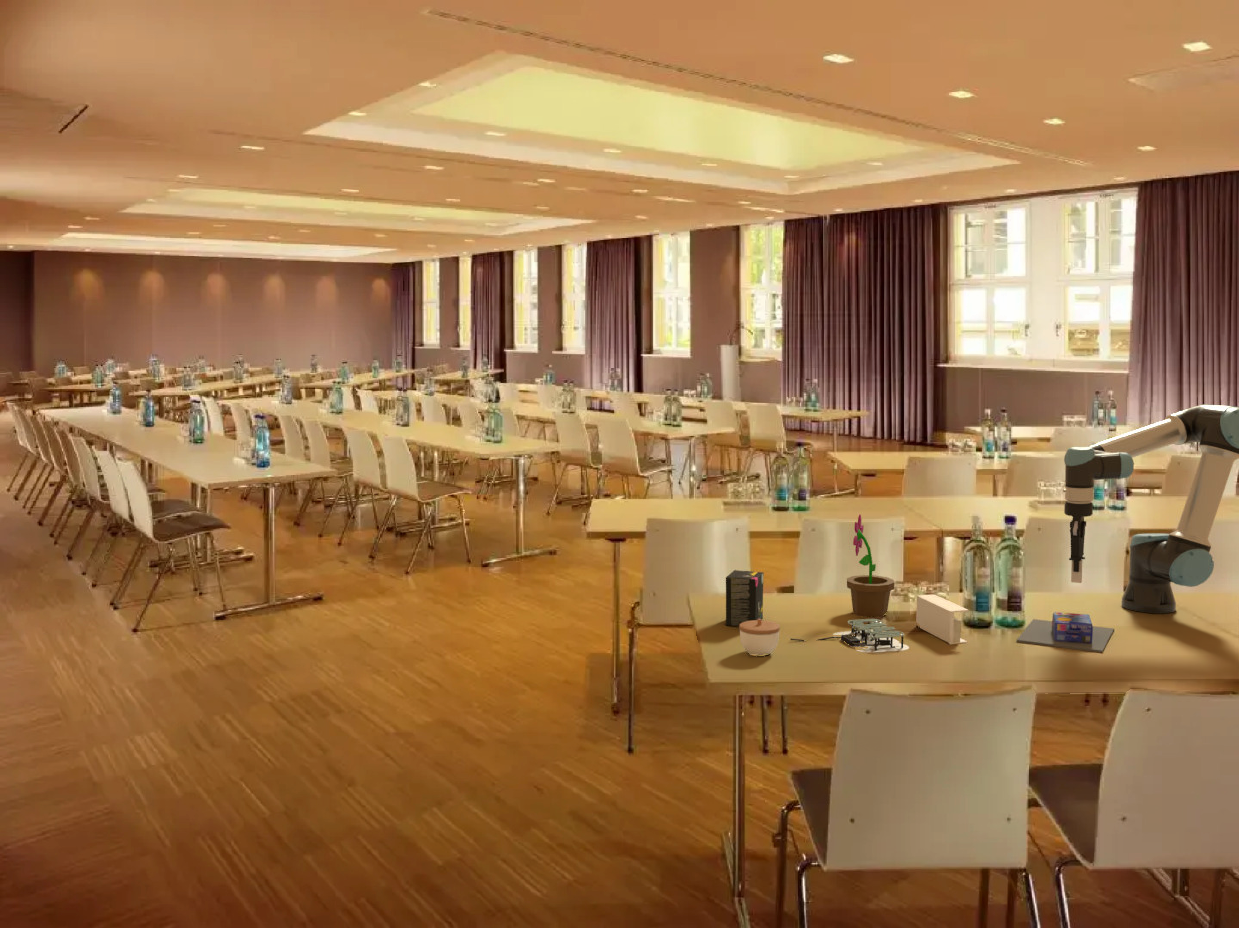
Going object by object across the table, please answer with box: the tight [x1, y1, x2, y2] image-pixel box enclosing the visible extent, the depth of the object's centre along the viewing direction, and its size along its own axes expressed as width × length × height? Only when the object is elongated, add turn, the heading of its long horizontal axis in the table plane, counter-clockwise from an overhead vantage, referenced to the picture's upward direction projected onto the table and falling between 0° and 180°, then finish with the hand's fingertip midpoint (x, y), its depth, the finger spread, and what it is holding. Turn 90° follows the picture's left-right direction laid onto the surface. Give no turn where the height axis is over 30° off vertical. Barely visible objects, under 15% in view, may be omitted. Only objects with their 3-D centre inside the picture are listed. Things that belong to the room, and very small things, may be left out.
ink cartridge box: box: [1051, 611, 1094, 643], centre depth 317 cm, size 10×6×14 cm
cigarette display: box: [915, 593, 969, 645], centre depth 324 cm, size 20×6×9 cm, turn 14°
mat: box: [1016, 618, 1115, 654], centre depth 321 cm, size 25×22×1 cm
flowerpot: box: [846, 514, 895, 619], centre depth 346 cm, size 14×14×30 cm
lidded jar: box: [738, 619, 781, 655], centre depth 306 cm, size 11×11×9 cm
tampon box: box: [725, 569, 764, 627], centre depth 337 cm, size 11×9×15 cm
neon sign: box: [790, 618, 910, 654], centre depth 316 cm, size 21×4×29 cm
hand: (1076, 582), depth 331 cm, fingers closed
